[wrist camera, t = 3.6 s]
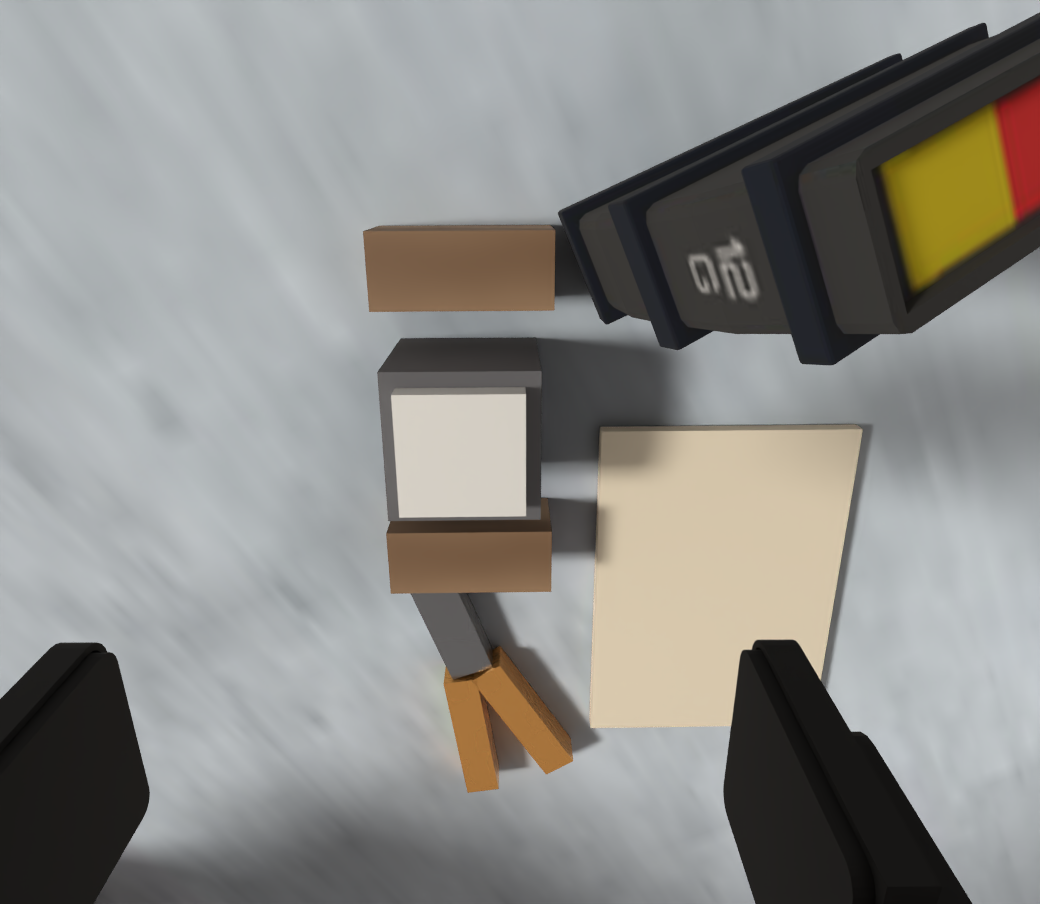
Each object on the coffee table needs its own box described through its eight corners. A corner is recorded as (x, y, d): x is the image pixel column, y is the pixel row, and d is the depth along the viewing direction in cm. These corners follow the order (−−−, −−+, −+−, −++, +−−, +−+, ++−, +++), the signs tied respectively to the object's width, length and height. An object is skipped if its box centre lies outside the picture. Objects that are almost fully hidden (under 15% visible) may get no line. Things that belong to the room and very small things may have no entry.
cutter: (572, 742, 34) (575, 765, 32) (471, 773, 34) (470, 797, 33) (485, 542, 30) (484, 559, 29) (373, 580, 30) (368, 598, 29)
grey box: (535, 462, 29) (541, 530, 23) (408, 463, 29) (384, 531, 23) (535, 337, 27) (543, 377, 21) (401, 338, 27) (373, 379, 21)
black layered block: (472, 248, 24) (828, 142, 11) (758, 107, 28) (1287, -103, 14) (518, 350, 25) (889, 370, 12) (786, 201, 29) (1298, 88, 16)
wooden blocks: (547, 553, 30) (550, 591, 27) (402, 555, 30) (390, 593, 27) (550, 224, 26) (555, 229, 23) (379, 225, 25) (363, 231, 23)
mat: (808, 715, 33) (813, 724, 33) (589, 718, 33) (590, 727, 32) (855, 424, 28) (862, 429, 28) (599, 426, 28) (601, 431, 28)
